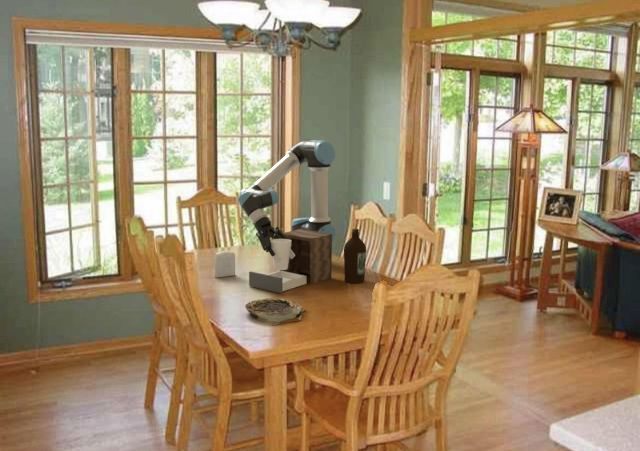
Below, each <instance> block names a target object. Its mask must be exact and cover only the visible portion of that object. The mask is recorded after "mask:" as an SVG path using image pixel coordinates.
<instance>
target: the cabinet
mask: <svg viewBox="0 0 640 451" xmlns="http://www.w3.org/2000/svg"><path fill="white" fill-rule="evenodd" d="M282 233H283V234H284V235H285V236H286V237H287V239H289V240H291V249H292V251H293V253H294V254H295V257H294V258H293V259H291V258H290V257H289V263H288V269H286V270H279V271H285V272H290V273H295V274H300V273H301V274H302V273H303V274H307V275H309V284H311V285H313V284H317V283H319V282H320V283H321V282H323V281H325V280H328V279H331V278H332V266H333V265H332V262H333V261H332V258H333V257H332V255H333V254H332V253H333V252H332V251H333V250H332V249H333V241H332V234H329V233H322V232H316V231H309V230H302V229H299V230H294V231H292V230H290V231H285V232H282Z"/></svg>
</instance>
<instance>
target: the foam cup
mask: <svg viewBox="0 0 640 451" xmlns="http://www.w3.org/2000/svg"><path fill="white" fill-rule="evenodd" d="M270 241H271V246H272V248H274V249H275V251H276V252H277V254H278V255H279V257H280V258H281V260H280V261H279V262H278V263H277V262H276V261H275V259H274V258H273V256H271V257H272V264H273V269H274V270H276V271H280V270H286V269H288V263H289V256H290V249H291V240H289V239H270Z"/></svg>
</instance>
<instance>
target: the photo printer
mask: <svg viewBox="0 0 640 451" xmlns="http://www.w3.org/2000/svg"><path fill="white" fill-rule="evenodd" d="M234 276H236V254H235V252H234V251H232V250H222V251H219V252H216V253H215V254H214V277H215V278H223V277H234Z"/></svg>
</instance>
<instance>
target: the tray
mask: <svg viewBox="0 0 640 451" xmlns="http://www.w3.org/2000/svg"><path fill="white" fill-rule="evenodd" d="M307 278H308V277H307V275H304V274H300V273H296V274H295V273H290V272H285V271H280V270H276V271H274V272H271V273H268V274H265V273H260V272H255V271H251V270H250V271H249V272H248V282H249V283H248V286H249V287H251V288H255V289H261V290H264V291H269V292H273V293H278V294H283V292H284V291H287V290H288V291H289V290H292V289H294V288H297V287H300V286H304V285H306V284H307Z"/></svg>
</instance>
